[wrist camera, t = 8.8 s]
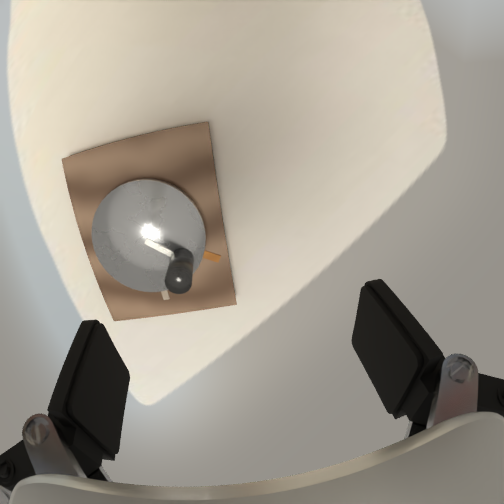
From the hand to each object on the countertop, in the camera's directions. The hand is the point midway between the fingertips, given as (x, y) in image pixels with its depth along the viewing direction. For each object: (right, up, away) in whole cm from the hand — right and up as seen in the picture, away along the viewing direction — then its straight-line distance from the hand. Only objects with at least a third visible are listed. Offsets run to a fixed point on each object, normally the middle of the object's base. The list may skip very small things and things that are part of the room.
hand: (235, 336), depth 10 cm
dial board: (-11, +6, +23) cm, 26 cm away
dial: (-11, +5, +20) cm, 24 cm away
